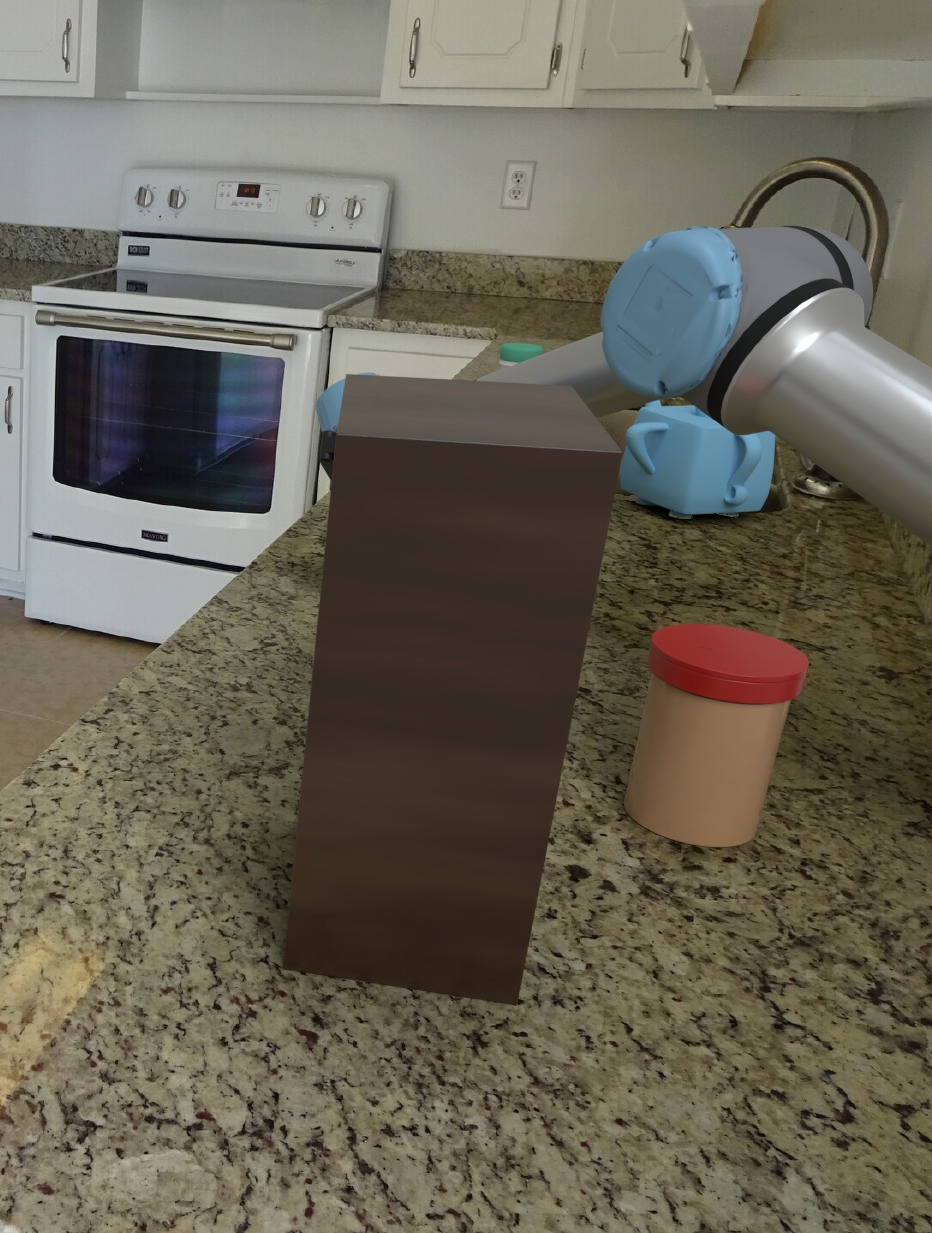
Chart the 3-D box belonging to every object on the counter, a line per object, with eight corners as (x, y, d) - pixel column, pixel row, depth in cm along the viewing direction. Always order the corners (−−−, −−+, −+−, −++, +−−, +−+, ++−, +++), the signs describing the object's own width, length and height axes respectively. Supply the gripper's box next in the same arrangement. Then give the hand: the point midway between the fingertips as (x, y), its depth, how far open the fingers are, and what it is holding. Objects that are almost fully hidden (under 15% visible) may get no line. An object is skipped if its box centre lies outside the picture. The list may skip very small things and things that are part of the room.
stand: (517, 1005, 64) (623, 451, 53) (282, 969, 67) (336, 433, 56) (492, 847, 79) (572, 385, 67) (300, 822, 81) (346, 373, 70)
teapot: (776, 507, 154) (803, 398, 149) (745, 536, 142) (772, 418, 137) (623, 482, 164) (643, 379, 159) (582, 507, 153) (602, 397, 148)
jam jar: (751, 801, 85) (792, 644, 80) (761, 858, 78) (806, 690, 73) (624, 777, 88) (656, 625, 83) (622, 830, 81) (657, 668, 76)
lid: (795, 662, 81) (802, 636, 80) (811, 715, 73) (818, 687, 73) (646, 640, 84) (651, 615, 83) (646, 688, 77) (652, 661, 76)
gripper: (518, 549, 113) (569, 480, 91) (285, 530, 118) (279, 460, 96) (525, 469, 114) (577, 382, 92) (294, 453, 119) (290, 367, 97)
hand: (425, 422), depth 94 cm, fingers open, 8 cm apart
